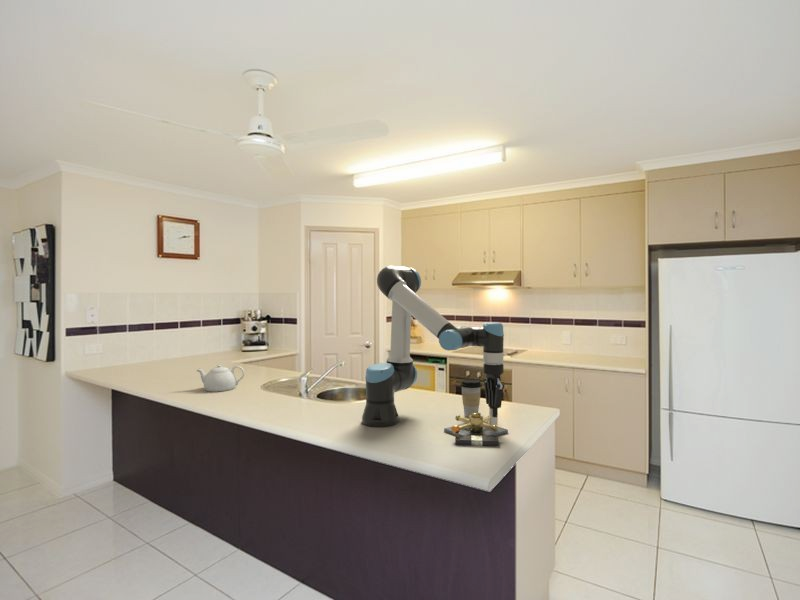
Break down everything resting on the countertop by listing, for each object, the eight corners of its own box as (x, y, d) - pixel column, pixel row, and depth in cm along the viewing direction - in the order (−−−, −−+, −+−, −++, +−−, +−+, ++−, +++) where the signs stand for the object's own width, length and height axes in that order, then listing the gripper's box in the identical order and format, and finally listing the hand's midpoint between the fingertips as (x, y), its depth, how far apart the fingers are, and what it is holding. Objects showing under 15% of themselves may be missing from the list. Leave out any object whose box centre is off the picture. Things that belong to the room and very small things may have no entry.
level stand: (477, 453, 148) (477, 447, 148) (430, 435, 167) (430, 429, 167) (524, 438, 163) (524, 432, 163) (476, 422, 182) (476, 418, 182)
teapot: (216, 394, 237) (215, 368, 236) (196, 390, 247) (195, 365, 246) (245, 387, 252) (245, 363, 252) (225, 384, 262) (225, 361, 262)
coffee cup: (467, 419, 187) (467, 384, 186) (456, 414, 195) (455, 380, 195) (486, 417, 190) (486, 382, 190) (474, 411, 199) (474, 378, 199)
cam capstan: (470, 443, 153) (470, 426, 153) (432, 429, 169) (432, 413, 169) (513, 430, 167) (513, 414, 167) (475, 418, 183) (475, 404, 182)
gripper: (510, 365, 164) (510, 428, 165) (494, 360, 177) (494, 419, 178) (492, 366, 162) (492, 430, 163) (476, 360, 175) (477, 420, 176)
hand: (493, 424), depth 170 cm, fingers closed
